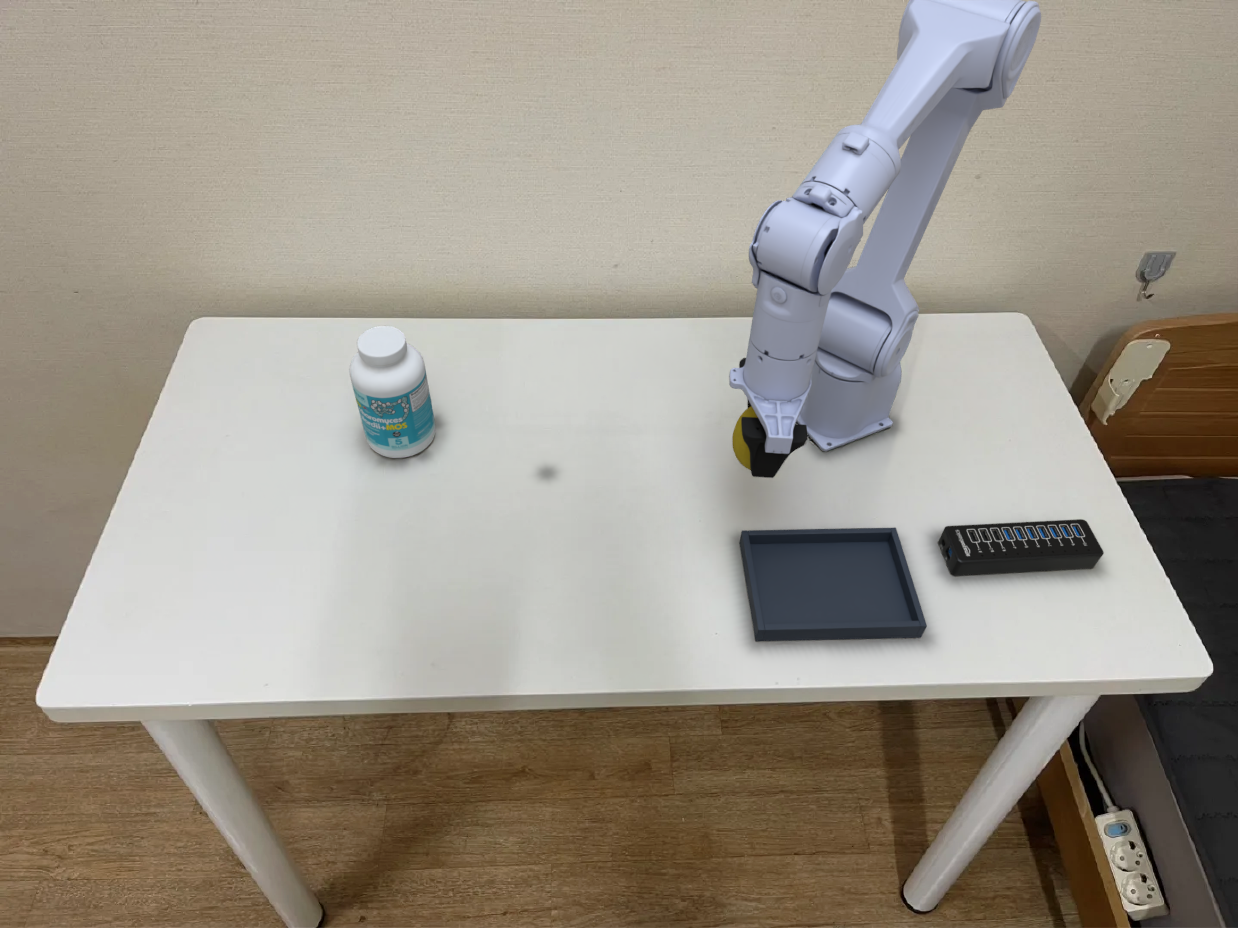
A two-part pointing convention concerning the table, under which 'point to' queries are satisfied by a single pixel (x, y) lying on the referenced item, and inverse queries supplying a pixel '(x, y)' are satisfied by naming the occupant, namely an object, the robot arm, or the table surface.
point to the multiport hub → (1019, 547)
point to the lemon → (742, 440)
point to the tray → (829, 585)
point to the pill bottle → (392, 393)
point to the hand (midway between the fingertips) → (761, 450)
